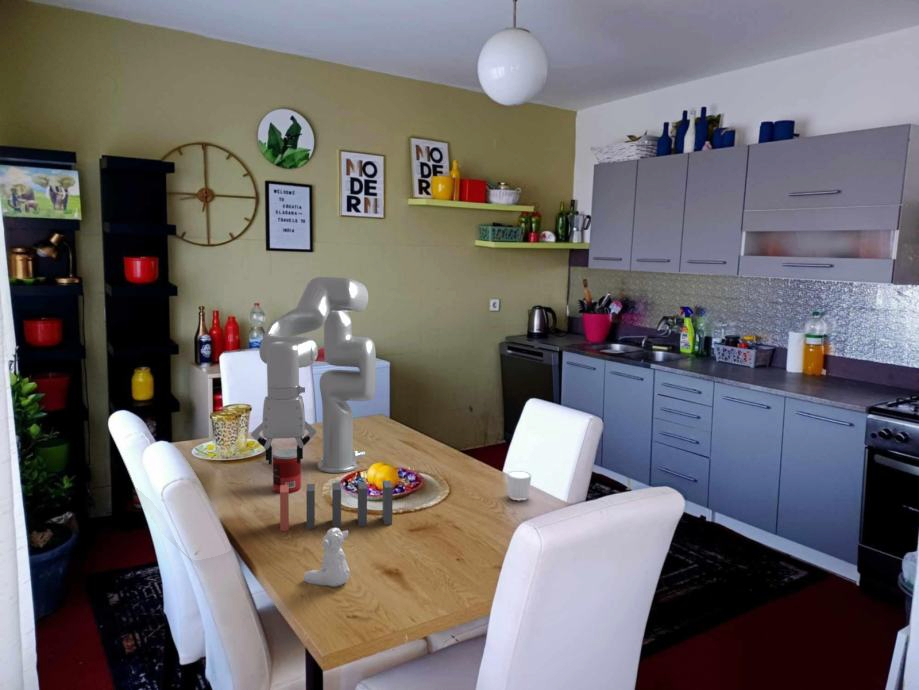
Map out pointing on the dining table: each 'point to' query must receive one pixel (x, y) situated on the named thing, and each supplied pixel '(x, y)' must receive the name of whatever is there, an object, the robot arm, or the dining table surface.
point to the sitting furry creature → (331, 561)
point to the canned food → (286, 470)
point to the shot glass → (519, 484)
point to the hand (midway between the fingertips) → (284, 461)
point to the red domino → (284, 507)
